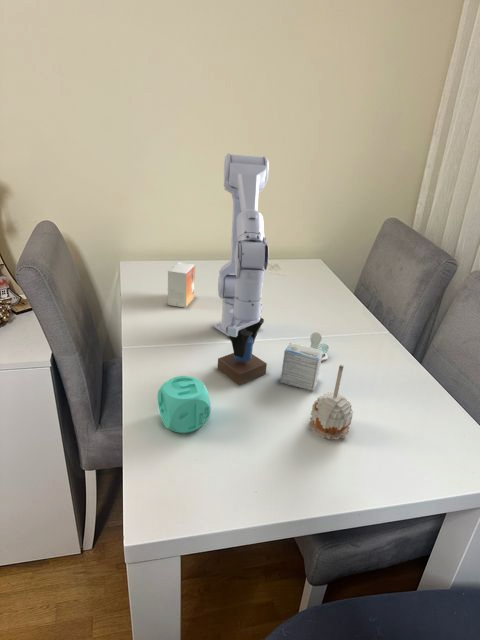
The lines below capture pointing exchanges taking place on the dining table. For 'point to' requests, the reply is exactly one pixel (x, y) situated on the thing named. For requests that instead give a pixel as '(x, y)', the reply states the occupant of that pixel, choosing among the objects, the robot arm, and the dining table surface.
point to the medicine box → (301, 366)
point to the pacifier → (315, 342)
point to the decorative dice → (184, 404)
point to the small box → (181, 284)
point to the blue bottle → (247, 351)
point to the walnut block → (241, 368)
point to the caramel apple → (331, 413)
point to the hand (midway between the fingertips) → (243, 351)
